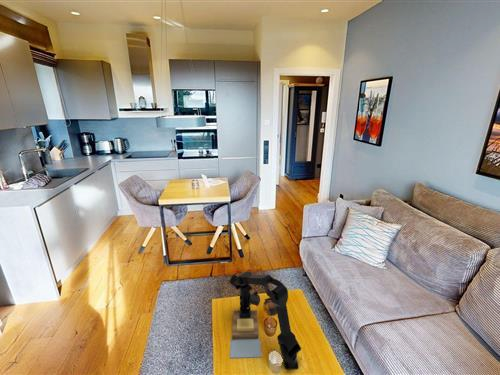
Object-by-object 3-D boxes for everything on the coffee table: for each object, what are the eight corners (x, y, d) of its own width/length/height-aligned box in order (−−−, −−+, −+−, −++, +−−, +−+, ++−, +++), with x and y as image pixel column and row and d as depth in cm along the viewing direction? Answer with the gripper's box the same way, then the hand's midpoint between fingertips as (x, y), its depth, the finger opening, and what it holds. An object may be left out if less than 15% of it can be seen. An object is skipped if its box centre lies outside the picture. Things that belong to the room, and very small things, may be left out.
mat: (261, 357, 122) (261, 356, 122) (229, 358, 122) (229, 357, 122) (260, 339, 132) (260, 338, 132) (230, 340, 131) (230, 339, 131)
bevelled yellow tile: (253, 330, 132) (253, 327, 132) (237, 331, 132) (236, 328, 132) (253, 321, 138) (253, 318, 137) (237, 321, 138) (237, 319, 137)
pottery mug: (262, 315, 148) (261, 300, 149) (267, 310, 156) (266, 296, 158) (281, 316, 143) (279, 301, 145) (285, 311, 151) (284, 297, 153)
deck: (258, 339, 132) (258, 333, 130) (232, 340, 131) (232, 334, 130) (256, 315, 147) (256, 310, 146) (233, 316, 147) (233, 310, 145)
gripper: (260, 305, 128) (260, 328, 132) (258, 281, 145) (258, 302, 150) (238, 306, 127) (239, 329, 132) (239, 281, 145) (240, 303, 150)
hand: (245, 315), depth 141 cm, fingers closed
